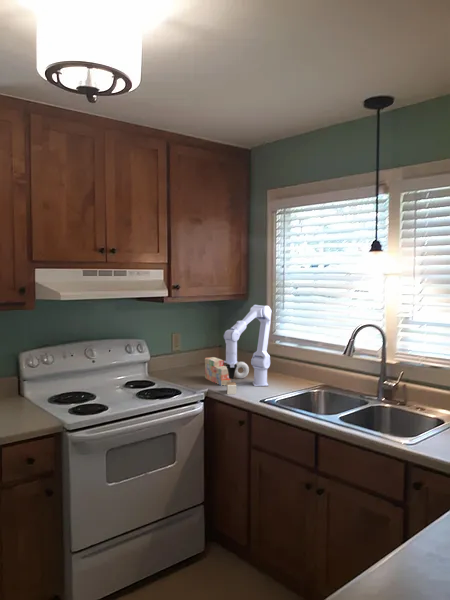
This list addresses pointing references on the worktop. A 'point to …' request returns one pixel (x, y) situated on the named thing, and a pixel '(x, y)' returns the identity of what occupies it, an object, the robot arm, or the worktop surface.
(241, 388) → the worktop surface
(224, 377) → the stack of blocks
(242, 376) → the donut
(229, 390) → the walnut block
